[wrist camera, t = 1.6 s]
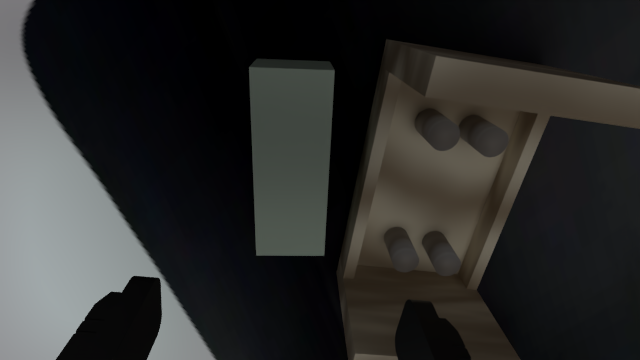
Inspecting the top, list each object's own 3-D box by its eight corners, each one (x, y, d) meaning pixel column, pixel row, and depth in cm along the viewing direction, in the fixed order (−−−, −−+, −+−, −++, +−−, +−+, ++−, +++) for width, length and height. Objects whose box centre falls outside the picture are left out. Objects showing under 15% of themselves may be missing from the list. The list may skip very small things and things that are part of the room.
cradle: (386, 39, 22) (435, 55, 14) (543, 64, 23) (673, 93, 15) (336, 272, 30) (350, 372, 21) (457, 284, 31) (513, 382, 23)
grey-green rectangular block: (257, 58, 23) (249, 67, 19) (329, 60, 23) (334, 70, 19) (262, 223, 28) (256, 255, 24) (321, 223, 28) (324, 255, 24)
